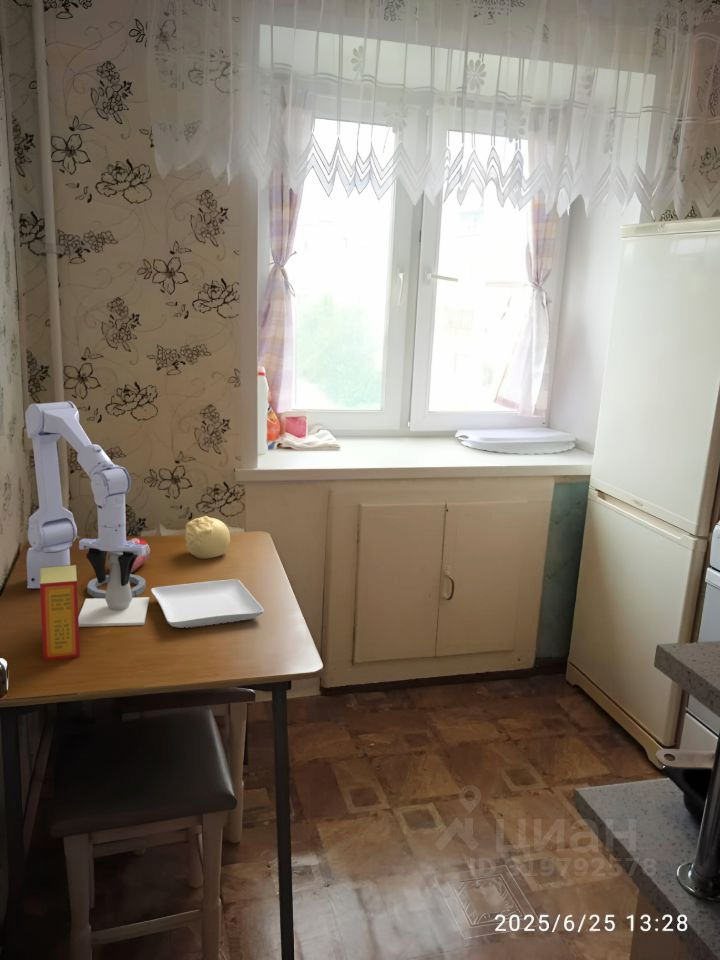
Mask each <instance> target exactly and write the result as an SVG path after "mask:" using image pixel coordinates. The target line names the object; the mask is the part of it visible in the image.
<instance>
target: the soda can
mask: <svg viewBox="0 0 720 960" xmlns="http://www.w3.org/2000/svg"><path fill="white" fill-rule="evenodd" d="M128 541H129V542H133V543H137V544H141V545H146V554H144V555H143V556H137V558H136V560H135V562H134V564H133V567H132V570H131V573H130V574H133V572H135V571H136V570H138V568H140V567H141V566H143V564H144V563H145V562H146V561H147V560H148V559H149V557H150V556H151V555H150V554H151V548H150V546H149V544H148V543H147V542H146V541H145V540H144V539H141V538H139V537H134V538H131V539H129V540H128ZM107 565H108V569H110V566H111V563H110V562H109V561H108V564H107Z"/></svg>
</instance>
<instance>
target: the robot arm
mask: <svg viewBox="0 0 720 960" xmlns="http://www.w3.org/2000/svg"><path fill="white" fill-rule="evenodd" d="M24 415H25V416H24V417H25V419H24V420H25V425H26V426H25V428H26V434H27V438H28V439H31V440H32V450H33V457H34V458H33V459H34V468H35V477H36V478H35V479H36V487H37V488H36V489H37V497H38V505H39V506H38V509H37V510H36V511H35V512H34V513H33V514H32V515H30V516H29V518H28V529H27V539H28V543H29V545H30V546H31V547H29V548H28V550H27V553H26V576H27V587H26V588H27V589H40V573H41V567H52V566H66V565H71V557H70V555H71V554H70V548H71V547H73V543H74V542H75V541H76V538H77V535H78V529H77V524H76V523H75V519H74V515H73V512H72V511H70V510H68V509H67V508H66V507H64V506H63V497H62V496H63V495H62V487H61V477H60V465H59V456H58V448H57V442H58V440H59V439H60V438H61V436H62V437H63V438H64V439H65V441H66V442H68V444H69V445H70V446H71V447H72V448H73V449H74V450H75V451H76V452H77V456H76V460H77V462H78V464H79V465H80V467H81V468H82V469H83V471H84V472H85V473H86V475H87V476H88V477H89V479H90V480H91V481H90V489H91V491H92V494H93V496H94V497H93V500H94V502H95V504H96V505H97V506H96V508H97V510H96V511H97V534H98V536H97V538H82V539H80V540H78V549H79V550H82V551H84V550H88V552H87V553H86V559H87V560H88V561H89V563H90V564H91V567H92V569H93V571H94V573H95V576H96V578H97V580H98V583H102V582H103V581H105V579H106V575H107V573H106V572H107V571H106V569H107V568H106V564H107V563H106V561H107V556H108V553H109V552H118V553H123V555H121V556H119V557H118V561H119V565H120V571H121V586H125V585H126V584H128V582H129V577H130V573H131V570H132V567H133V564H134V562H135V560H136V558H137V556H143V555H144V554H146V545H141V544H137V543H133V542H129V540H127V530H126V529H127V528H126V527H127V526H126V525H127V524H126V521H127V520H126V494H127V493H129V491H130V490H131V486H132V485H131V482H132V481H131V476H130V474H129V472H128V471H127V469H126V468H125V467H123V466H120V465H118V464H114V463H113V461H112V460H111V458H110V457H109V456H108V455H107V453H106V452H105V450H103V448H102V446H100V445H99V444H93V443H92V442H91V440H90V439H89V437H88V435H87V434H86V432H85V430H84V428H83V427H82V425H81V424H80V414H79V410H78V408H77V406H76V405H75V404H74V402H72V400H71V401H70V400H66V401H60V402H59V401H58V402H46V403H31V404H30V405H29V406H28V407H27V409H26V411H25V413H24ZM131 574H132V573H131ZM129 583H130V582H129Z"/></svg>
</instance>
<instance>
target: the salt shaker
mask: <svg viewBox="0 0 720 960" xmlns="http://www.w3.org/2000/svg"><path fill="white" fill-rule="evenodd" d="M121 555H123V553H118V552H109V551H108V553H107V561H108V562H110V563H111V566H110V568H109V572H108V575H109V578H108V583H106V584H107V585H106V590H105V591H106V595H105V600H106V602H107V605H108V607H109V608H110V609H113V610H123V609H125V608H127V607H129V604H130V602H131V600H132V598H133V597H132V592H131V589H132V587H131V582H128V584H126V585H125V586H121V571H120V565H119V561H118V557H119V556H121Z"/></svg>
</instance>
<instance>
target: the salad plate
mask: <svg viewBox="0 0 720 960" xmlns="http://www.w3.org/2000/svg"><path fill="white" fill-rule="evenodd" d="M150 592H151V594H152V596H154V598H155V599H156V601H157V602H158V604H159V606H160V608H161V611H162V613H163V615H164V618H165V619H166V622H167V623H168V624H169V625H170V626H171V627H174V628H179V629H180V628H184V627H185V628H188V629H189V627H190V628H197V627H198V626H199V627H206V626H205V625H207V626H213V624H215V625H221V624H220V623H222V624H228V623H227V622H229V623H235V621H236V622H241V620H242V621H247V620H252V619H255V618H258V617H259V616H261V615H262V614H263V613H264V612H265V609H264V607H262V605H261V604H260V603H259V602H258V601H257V600H256V598H255V597H254V596H253V595H252V594H251V592H250V591H249V590H248V589H247V588H246V586H245V585H244V584H243V583H242V582H241V581H240V580H239V579H236V578H232V579H223V580H221V579H220V580H210V581H202V582H193V583H191V582H190V583H183V584H174V585H173V584H172V585H166V586H156V587H152V588H151V589H150ZM185 628H184V629H185Z"/></svg>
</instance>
